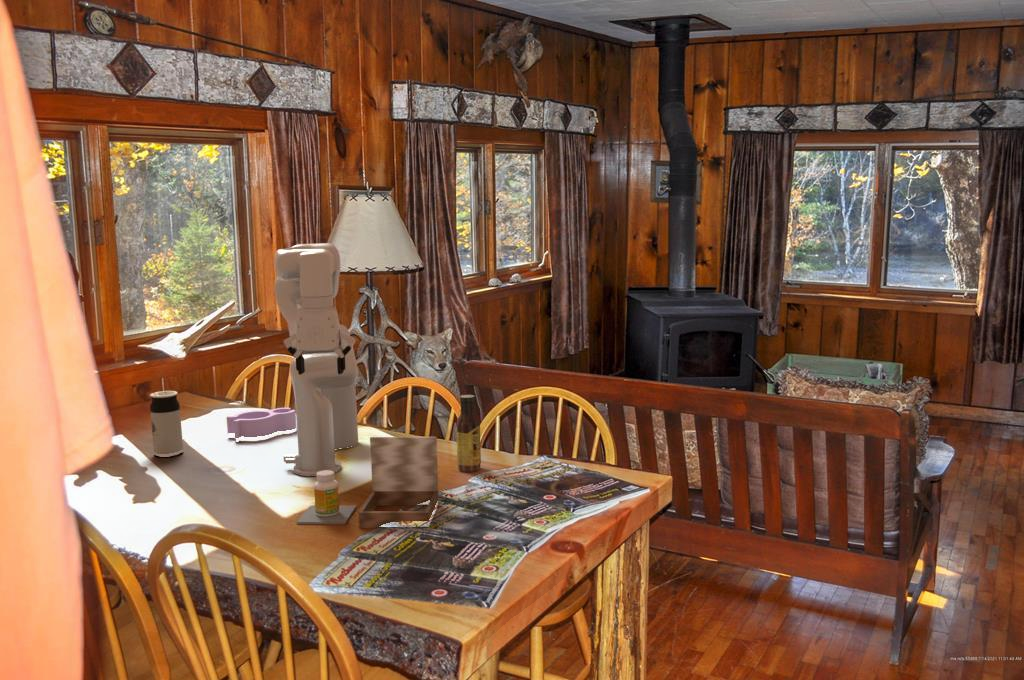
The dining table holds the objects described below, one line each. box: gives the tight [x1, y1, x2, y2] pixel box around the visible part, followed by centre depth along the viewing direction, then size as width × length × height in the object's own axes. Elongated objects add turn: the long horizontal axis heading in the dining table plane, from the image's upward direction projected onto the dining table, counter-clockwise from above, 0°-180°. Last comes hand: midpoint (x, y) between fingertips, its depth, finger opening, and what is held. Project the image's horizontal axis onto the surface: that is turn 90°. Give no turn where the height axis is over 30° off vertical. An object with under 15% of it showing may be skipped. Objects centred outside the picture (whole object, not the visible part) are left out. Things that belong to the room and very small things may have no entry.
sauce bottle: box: [456, 394, 482, 473], centre depth 249 cm, size 6×6×20 cm
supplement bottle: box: [313, 470, 340, 517], centre depth 216 cm, size 5×5×10 cm
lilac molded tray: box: [226, 407, 297, 438], centre depth 291 cm, size 20×12×7 cm, turn 125°
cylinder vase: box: [321, 382, 359, 449], centre depth 276 cm, size 12×12×25 cm
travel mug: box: [149, 390, 184, 454], centre depth 270 cm, size 8×8×18 cm
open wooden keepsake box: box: [358, 436, 440, 529], centre depth 214 cm, size 16×16×16 cm
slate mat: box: [296, 505, 357, 525], centre depth 216 cm, size 11×11×1 cm
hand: (321, 373), depth 228 cm, fingers open, 9 cm apart
